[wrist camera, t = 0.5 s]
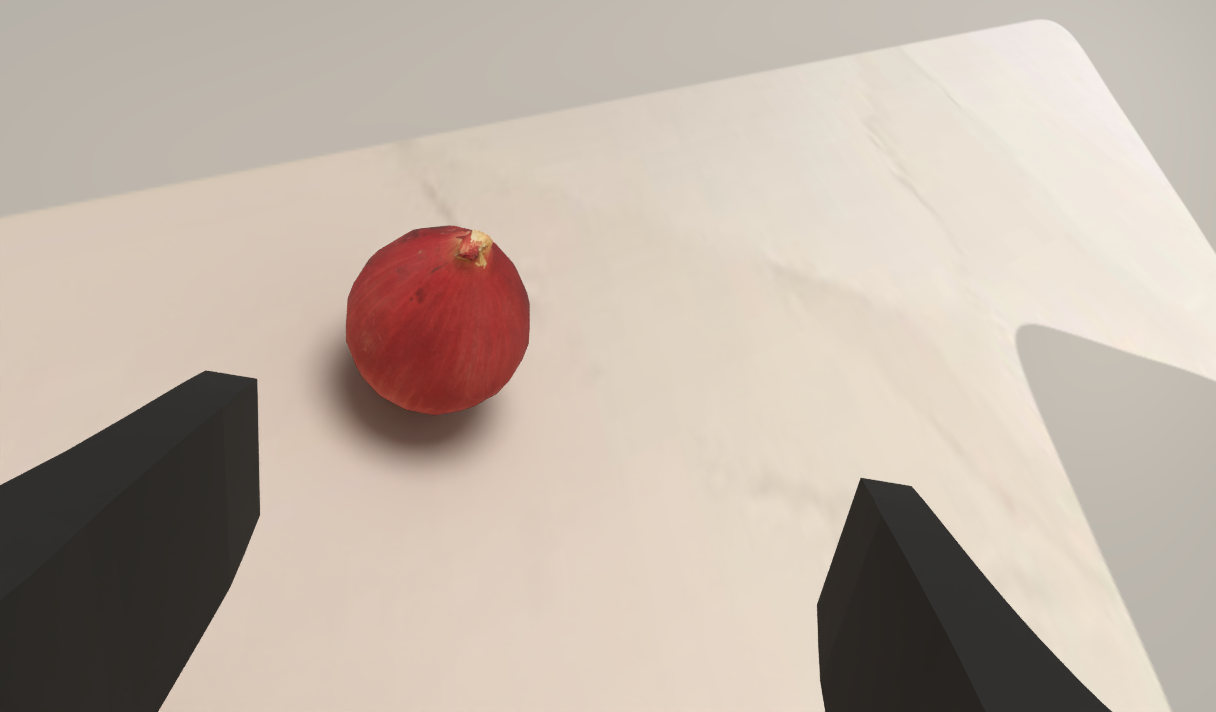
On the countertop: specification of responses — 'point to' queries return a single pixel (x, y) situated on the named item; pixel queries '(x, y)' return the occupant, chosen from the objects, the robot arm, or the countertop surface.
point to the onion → (438, 320)
